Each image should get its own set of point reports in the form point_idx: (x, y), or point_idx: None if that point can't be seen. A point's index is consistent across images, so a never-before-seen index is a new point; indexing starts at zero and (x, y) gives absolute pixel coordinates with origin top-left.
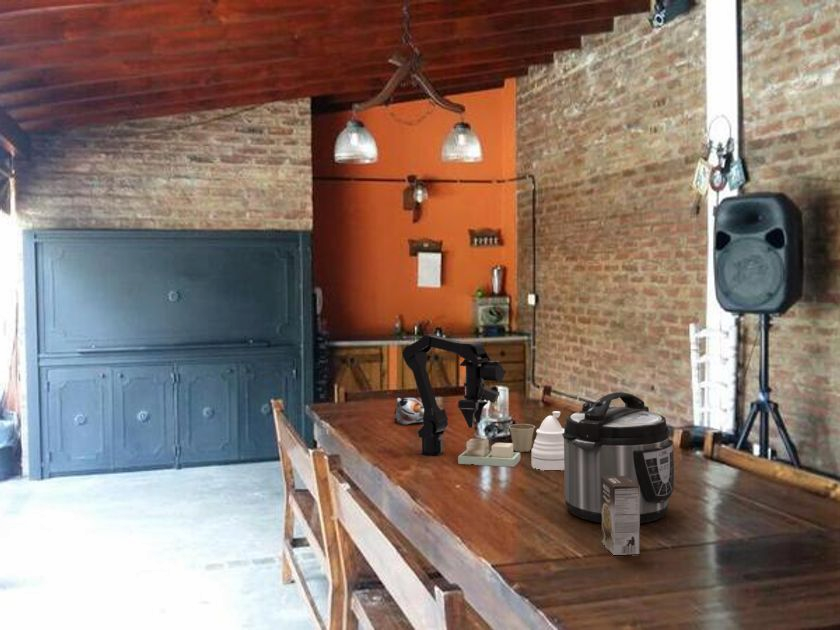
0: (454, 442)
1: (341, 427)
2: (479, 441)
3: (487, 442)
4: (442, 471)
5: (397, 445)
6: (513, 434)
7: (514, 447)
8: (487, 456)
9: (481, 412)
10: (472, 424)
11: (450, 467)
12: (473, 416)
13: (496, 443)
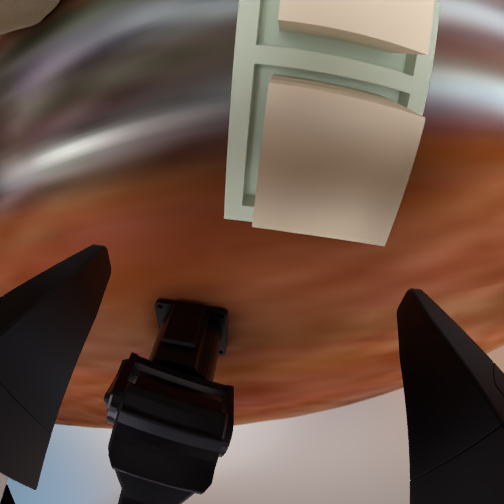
0: (27, 274)
1: (68, 420)
2: (368, 154)
3: (305, 85)
4: (479, 261)
5: None
6: (2, 6)
7: (46, 7)
8: (394, 78)
9: (22, 313)
10: (437, 309)
11: (433, 242)
12: (500, 384)
13: (314, 11)
